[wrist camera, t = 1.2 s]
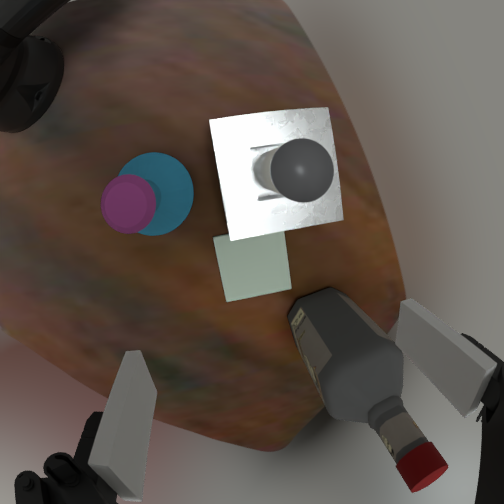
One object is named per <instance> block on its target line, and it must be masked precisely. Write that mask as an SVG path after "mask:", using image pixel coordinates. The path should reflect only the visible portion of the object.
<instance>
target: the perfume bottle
mask: <svg viewBox="0 0 504 504" xmlns="http://www.w3.org/2000/svg"><path fill="white" fill-rule="evenodd" d="M193 197H194V191H193V184H192V180H191V177H190V175H189V173H188V171H187V170H186V168H185V167H184V166H183V165H182V164H181V163H180V162H179V161H178V160H177V159H175V158H173V157H171V156H169V155H166V154H163V153H156V152H153V153H145V154H142V155H139V156H137V157H135V158H133V159H132V160H131V161H129V162H128V163H127V164H126V165H125V166H124V167H123V168H122V170H121V171H120V173H119V175H118V177H116V178H114V179H113V180H112V181H111V182H109V184H108V185H107V186H106V187H105V189H104V191H103V194H102V198H101V210H102V214H103V217H104V219H105V221H106V222H107V223H108V225H109V226H111V227H112V228H113V229H114V230H116V231H118V232H121V233H126V234H130V233H136V232H138V233H141V234H143V235H150V236H154V235H162V234H165V233H168V232H170V231H172V230H174V229H175V228H177V227H178V226H179V225H180V224H181V223H182V222H183V221H184V220H185V219H186V217H187V215H188V214H189V212H190V209H191V206H192V203H193Z"/></svg>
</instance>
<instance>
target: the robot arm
mask: <svg viewBox="0 0 504 504" xmlns="http://www.w3.org/2000/svg"><path fill="white" fill-rule="evenodd" d="M69 1H70V0H0V131H1V132H9V133H15V132H19V131H22V130H24V129H26V128H28V127H29V126H31V125H32V124H33V123H35V122H36V121H37V120H38V119H39V118H40V117H41V116H42V115H43V114H44V112H45V111H46V110H47V108H48V107H49V105H50V104H51V102H52V101H53V99H54V97H55V95H56V93H57V91H58V88H59V86H60V83H61V79H62V75H63V69H64V60H63V55H62V52H61V50H60V48H59V47H58V46H57V45H56V44H55V43H54V42H52V41H51V40H50V39H48V38H46V37H42V36H31V35H29V34H30V33H31V32H32V31H34V30H35V29H36V28H37V27H38V26H39V25H40V24H41V23H43V22H44V21H45V20H46V19H47V18H48V17H50V16H51V15H52V14H53V13H54V12H56V11H57V10H58V9H59V8H61V7H62V6H63V5H65V4H66V3H67V2H69ZM395 345H396V346H397V347H398V348H399V349H400V350H401V351H402V352H403V353H404V354H405V355H406V356H407V357H408V358H409V359H410V360H411V361H412V362H413V363H414V364H415V365H416V366H417V367H418V368H419V369H420V370H421V371H422V372H423V374H424V375H425V376H426V377H427V378H428V379H429V380H430V381H431V382H432V383H433V384H434V385H435V386H436V387H437V388H438V390H439V391H440V392H441V393H442V394H443V395H444V396H445V397H446V398H447V399H448V400H449V401H450V402H451V404H452V405H453V406H454V407H455V408H456V409H457V410H458V411H459V412H460V414H461V415H462V416H463V417H464V418H466V417H467V416H469V415H470V414H472V413H473V412H474V411H476V409H477V407H478V405H479V403H480V401H481V402H482V403H483V404H484V406H483V408H482V410H481V411H480V413H479V416H478V417H477V420H476V422H478V421H479V419H480V417H481V416H482V420H481V422H482V444H481V459H480V470H479V478H478V486H477V493H476V499H475V504H504V362H503V361H502V360H501V359H499V358H498V357H497V356H496V355H494V354H493V353H492V352H491V351H489V350H488V349H487V348H484V346H483V345H482V344H480V343H478V342H477V341H476V340H475V339H474V338H472V337H471V336H468V335H466V334H463V333H462V334H459V333H458V332H457V331H456V330H454V329H453V328H451V327H450V326H449V325H448V324H446V323H445V322H443V321H442V320H441V319H440V318H438V317H437V316H436V315H434V314H433V313H432V312H430V311H429V310H427V309H426V308H424V307H423V306H422V305H421V304H419V303H418V302H416V301H415V300H413V299H412V298H411V299H407V300H404V301H401V304H400V313H399V321H398V329H397V335H396V342H395ZM156 397H157V390H156V388H155V386H154V383H153V381H152V378H151V376H150V374H149V371H148V369H147V366H146V363H145V361H144V358H143V355H142V353H141V350H137V351H126V353H125V355H124V358H123V360H122V363H121V366H120V368H119V371H118V373H117V376H116V379H115V382H114V384H113V387H112V390H111V393H110V395H109V398H108V401H107V404H106V407H105V410H104V412H93V413H92V415H91V416H90V417H89V418H88V419H87V421H86V424H85V427H84V431H83V432H82V435H81V439H80V441H79V443H78V447H77V449H76V452H75V456H74V458H72V457H71V456H70V455H69V454H67V453H62V452H58V453H55V454H52V455H51V456H49V457H48V458H47V460H46V461H45V463H44V467H43V469H44V473H45V474H46V475H47V476H48V478H40V477H39V476H38V475H37V474H36V473H35V472H32V471H23V472H21V473H20V474H19V475H18V476H17V478H16V479H15V484H14V486H15V498H16V504H118V503H117V502H116V498H117V494H118V495H119V496H120V497H121V498H122V499H123V500H127V501H137V502H142V497H143V487H144V478H145V470H146V462H147V454H148V446H149V440H150V433H151V426H152V420H153V414H154V408H155V402H156Z"/></svg>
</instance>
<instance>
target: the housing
mask: <svg viewBox="0 0 504 504" xmlns="http://www.w3.org/2000/svg"><path fill="white" fill-rule="evenodd" d="M210 132H211V138H212V144H213V150H214V155H215V161H216V167H217V173H218V178H219V184H220V190H221V195H222V201H223V206H224V212H225V217H226V223H227V228H228V232H229V236H230V240H231V241H233V240H238V239H243V238H248V237H254V236H259V235H264V234H269V233H275V232H280V231H286V230H291V229H296V228H302V227H307V226H313V225H318V224H324V223H329V222H335V221H341V220H343V211H342V201H341V192H340V183H339V175H338V167H337V160H336V153H335V146H334V140H333V133H332V127H331V121H330V116H329V110H328V107H326V108H306V109H292V110H281V111H271V112H262V113H253V114H246V115H239V116H232V117H225V118H219V119H213V120H210ZM298 138H306V139H311V140H314V141H316V142H318V143H319V144H321V145H322V146H323V147H324V148H325V149H326V150H327V151H328V153H329V155H330V156H331V159H332V162H333V166H334V176H333V181H332V184H331V186H330V188H329V189H328V191H327V192H326V193H325V194H324V195H323V196H322V197H320V198H319V199H317V200H315V201H312V202H306V203H301V202H295V201H292V200H290V199H288V198H286V197H284V196H283V195H281V194H279V193H276V192H273V191H270V190H267V189H265V188H263V187H261V186H260V185H259V184H258V183H257V181H256V179H255V177H254V171H253V168H254V164H255V161H256V160H257V158H258V157H259V156H260V155H261V154H263V153H265V152H267V151H270V150H273V149H275V148H278V147H280V146H281V145H283V144H284V143H286V142H288V141H290V140H293V139H298Z"/></svg>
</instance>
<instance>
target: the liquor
mask: <svg viewBox="0 0 504 504" xmlns="http://www.w3.org/2000/svg"><path fill="white" fill-rule="evenodd" d="M287 317H288V320H289V324H290V327H291V330H292V334H293V337H294V340H295V344H296V346H297V348H298V350H299V352H300V354H301V356H302V359H303V361H304V363H305V365H306V367H307V369H308V371H309V373H310V375H311V377H312V379H313V381H314V383H315V385H316V388H317V390H318V392H319V394H320V396H321V398H322V400H323V402H324V404H325V406H326V408H327V410H328V412H329V414H330V415H331V416H333V417H334V418H335V419H339V420H346V421H353V422H362V423H368V424H369V426H370V428H372V429H374V430H375V431H376V432H377V434H378V435H379V437H380V438H381V440H382V441H383V443H384V444H385V446H386V448H387V449H388V451H389V453H390V454H391V456H392V457H393V459H394V461H395V462H396V464H397V465H396V468H397V469H398V471H399V473H400V474H401V476H402V478H403V479H404V481H405V482H406V484H407V486H408V487H409V489H410V490H411V492H412V493H413V492H417V491H419V490H421V489H423V488H425V487H427V486H428V485H430V484H431V483H432V482H434V481H435V480H437V479H438V478H439V477H440V476H441V475H442V474H443V473H444V472H445V471H446V470H447V469H448V465H447V463H446V461H445V460H444V459H443V457H442V456H441V454H440V453H439V452H438V450H437V449H436V448H435V446H434V445H433V443H432V442H428V440H427V439H426V437H425V436H424V434H423V433H422V431H421V430H420V429H419V427H418V426H417V425H416V423H415V422H414V421H413V419H412V418H411V416H410V415H409V414H408V412H407V411H406V409H405V408H404V406H403V401H402V399H401V398H400V397H401V393H402V387H403V355H402V351H401V350H400V349H399V348H398V347H397V346H396V345H395V342H394V341H393V340H392V339H391V338H390V337H389V336H388V335H387V334H386V333H385V332H384V331H383V330H382V329H381V328H380V327H379V326H378V325H377V324H376V323H375V322H374V321H373V320H372V319H371V318H370V317H369V316H368V315H367V314H366V313H364V312H363V311H362V310H361V309H360V308H359V307H358V306H357V305H356V304H355V303H354V302H353V301H352V300H351V299H350V298H349V297H348V296H347V295H346V294H344V293H342V292H340V291H338V290H336V289H334V288H332V287H331V288H327V289H324V290H322V291H319V292H316V293H314V294H311V295H308V296H306V297H303V298H300V299H298V300H297V301H296V303H295V304H294V306H293V308H292V310H291V311H290V313H289V314H288V316H287Z"/></svg>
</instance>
